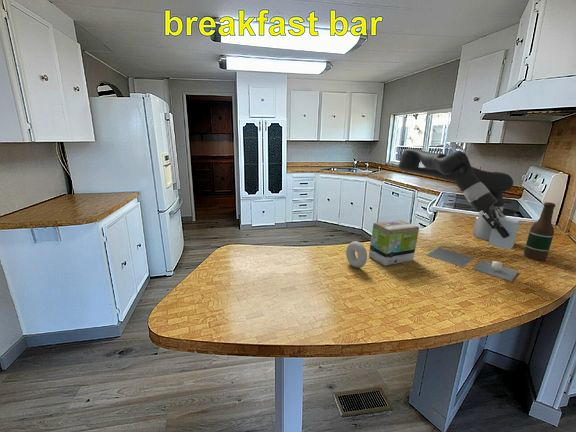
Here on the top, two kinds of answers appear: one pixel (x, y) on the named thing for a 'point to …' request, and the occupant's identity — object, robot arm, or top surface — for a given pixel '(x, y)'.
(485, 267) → the gray plate with knob
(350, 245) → the donut
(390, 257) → the tea box
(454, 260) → the mat
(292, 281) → the top surface
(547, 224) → the beer bottle
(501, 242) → the light gray block
